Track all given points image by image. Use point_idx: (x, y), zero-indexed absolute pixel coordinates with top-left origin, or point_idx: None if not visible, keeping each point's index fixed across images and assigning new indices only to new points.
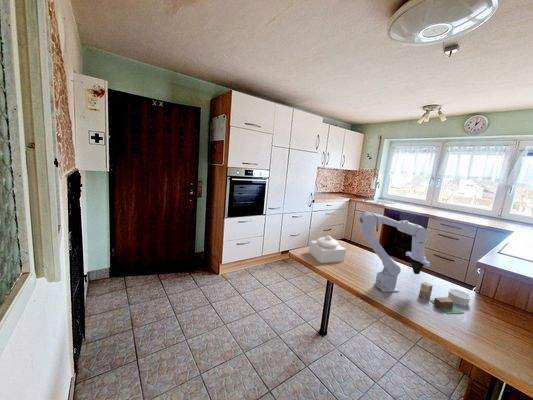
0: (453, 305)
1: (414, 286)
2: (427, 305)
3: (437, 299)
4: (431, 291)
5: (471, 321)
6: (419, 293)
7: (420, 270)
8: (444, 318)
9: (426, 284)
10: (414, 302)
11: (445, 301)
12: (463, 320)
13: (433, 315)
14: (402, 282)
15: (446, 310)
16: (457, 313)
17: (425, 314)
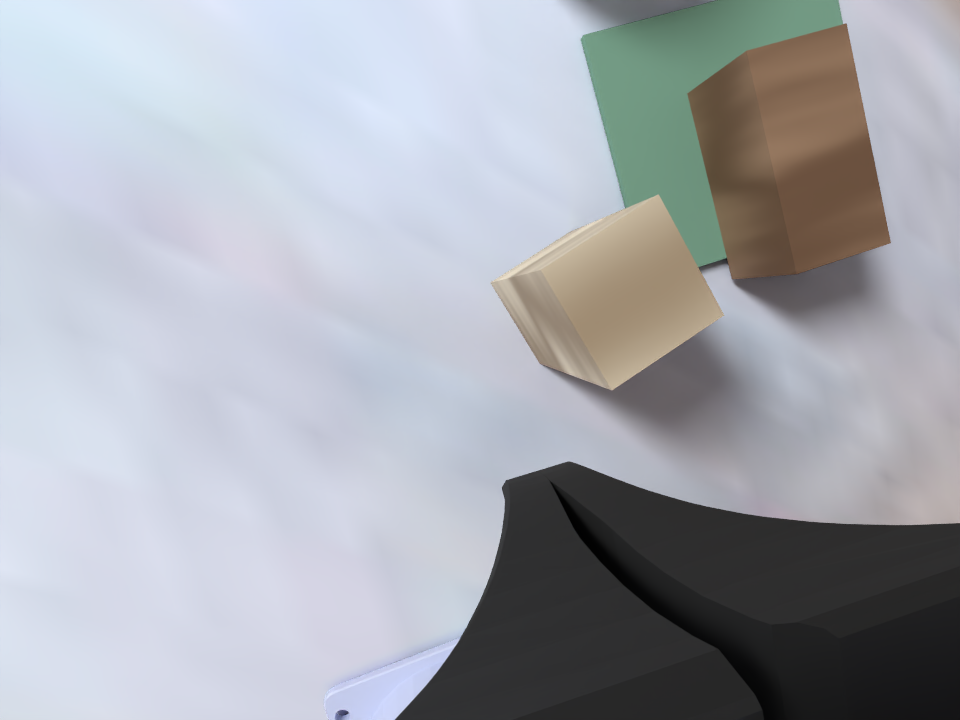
0: (703, 6)
1: (285, 315)
2: (754, 363)
3: (834, 260)
4: (606, 217)
5: (954, 4)
6: (549, 365)
7: (632, 488)
8: (950, 294)
9: (655, 316)
10: (725, 498)
11: (865, 165)
12: (951, 91)
13: (921, 390)
14: (202, 464)
15: None
16: None
17: (919, 470)
